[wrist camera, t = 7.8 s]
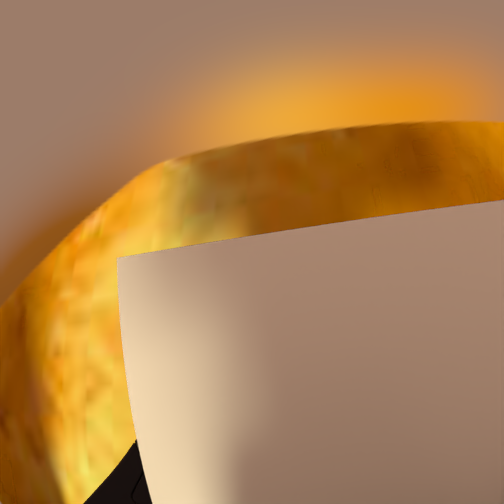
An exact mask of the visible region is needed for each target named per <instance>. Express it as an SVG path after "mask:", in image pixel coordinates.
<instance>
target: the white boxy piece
mask: <svg viewBox="0 0 504 504" xmlns="http://www.w3.org/2000/svg"><path fill="white" fill-rule="evenodd" d="M117 276H118V297H119V312H120V325H121V336H122V346H123V355H124V363H125V371H126V379H127V386H128V392H129V399H130V405H131V411H132V417H133V422H134V427H135V433H136V438H137V442H138V447H139V452H140V456H141V461H142V465H143V469H144V473H145V477H146V481H147V485H148V489H149V493H150V496H151V500H152V503H153V504H504V200H500V201H492V202H484V203H476V204H468V205H461V206H453V207H445V208H438V209H431V210H423V211H416V212H409V213H401V214H394V215H387V216H380V217H373V218H366V219H359V220H352V221H345V222H338V223H332V224H325V225H318V226H312V227H305V228H298V229H292V230H285V231H279V232H272V233H266V234H259V235H253V236H247V237H240V238H234V239H228V240H222V241H215V242H209V243H203V244H197V245H191V246H185V247H179V248H173V249H167V250H161V251H155V252H149V253H143V254H137V255H131V256H126V257H120V258H117Z"/></svg>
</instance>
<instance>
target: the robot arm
mask: <svg viewBox="0 0 504 504" xmlns="http://www.w3.org/2000/svg"><path fill="white" fill-rule="evenodd" d="M83 504H153V503H152V500H151V496H150V493H149V489H148V485H147V481H146V477H145V473H144V469H143V465H142V461H141V456H140V452H139V447H138V442H137V439H136V440H135V443H133V445H132V446H131V448H130V449H129V450H128V452H127V453H126V455H125V456H124V457H123V459H122V460H121V461H120V463H119V464H118V465H117V466H116V468H115V469H114V470H113V471H112V472H111V474H110V475H109V476H108V477H107V478H106V479H105V480H104V482H103V483H102V484H101V485H100V486H99V487H98V488H97V489H96V490H95V492H94V493H93V494H92V495H91V496H90V497H89V498H88V499H87V500H86V501H85V502H84V503H83Z"/></svg>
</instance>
